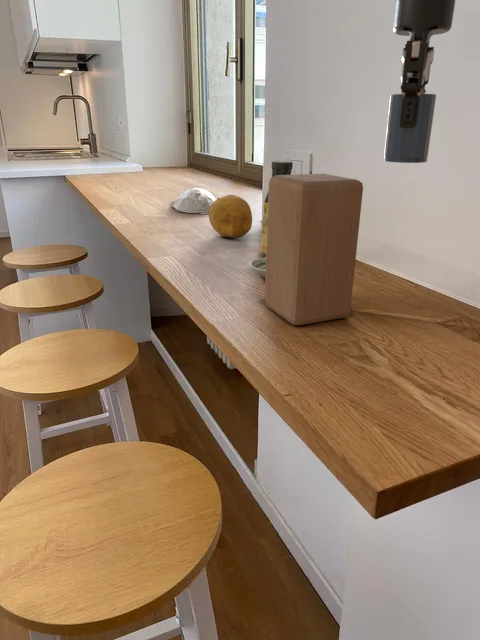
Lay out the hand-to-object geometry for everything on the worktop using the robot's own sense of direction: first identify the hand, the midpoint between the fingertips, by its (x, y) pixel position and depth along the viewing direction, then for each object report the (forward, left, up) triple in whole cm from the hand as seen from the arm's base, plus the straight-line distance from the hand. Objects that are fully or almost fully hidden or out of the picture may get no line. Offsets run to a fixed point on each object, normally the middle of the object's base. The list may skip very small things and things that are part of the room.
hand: (409, 127), depth 72 cm
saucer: (+21, -5, -27) cm, 34 cm away
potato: (+41, -33, -27) cm, 59 cm away
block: (+11, +11, -27) cm, 31 cm away
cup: (0, 0, -5) cm, 5 cm away
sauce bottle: (+24, -16, -27) cm, 39 cm away
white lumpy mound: (+67, -67, -27) cm, 98 cm away
